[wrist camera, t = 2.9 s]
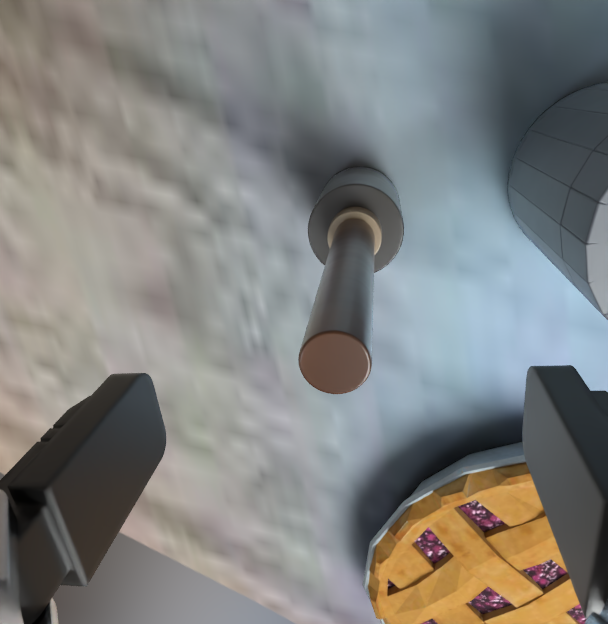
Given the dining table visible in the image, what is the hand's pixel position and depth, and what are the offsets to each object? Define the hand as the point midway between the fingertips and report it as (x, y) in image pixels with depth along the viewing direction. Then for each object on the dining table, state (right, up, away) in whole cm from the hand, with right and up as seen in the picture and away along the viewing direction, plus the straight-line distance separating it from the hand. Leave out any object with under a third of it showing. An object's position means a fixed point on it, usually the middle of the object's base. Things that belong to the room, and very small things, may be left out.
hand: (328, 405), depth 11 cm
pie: (+15, -15, +25) cm, 33 cm away
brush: (+3, +8, +17) cm, 19 cm away
